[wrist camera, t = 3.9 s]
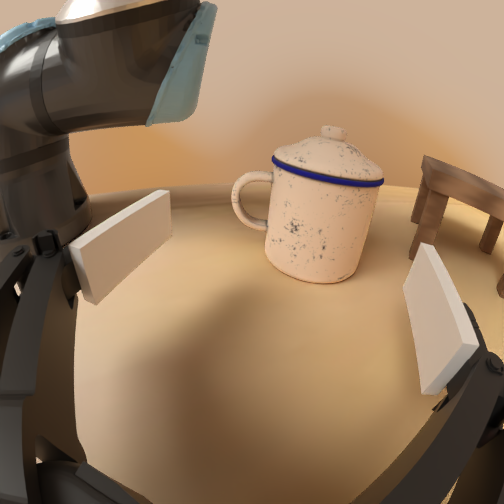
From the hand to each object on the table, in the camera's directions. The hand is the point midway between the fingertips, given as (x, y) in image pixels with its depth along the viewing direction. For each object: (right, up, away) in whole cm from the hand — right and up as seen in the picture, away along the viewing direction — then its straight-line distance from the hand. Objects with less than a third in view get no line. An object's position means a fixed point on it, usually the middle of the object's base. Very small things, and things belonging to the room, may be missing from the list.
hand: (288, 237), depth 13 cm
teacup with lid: (+2, -1, +12) cm, 12 cm away
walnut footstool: (+25, -1, +15) cm, 30 cm away
